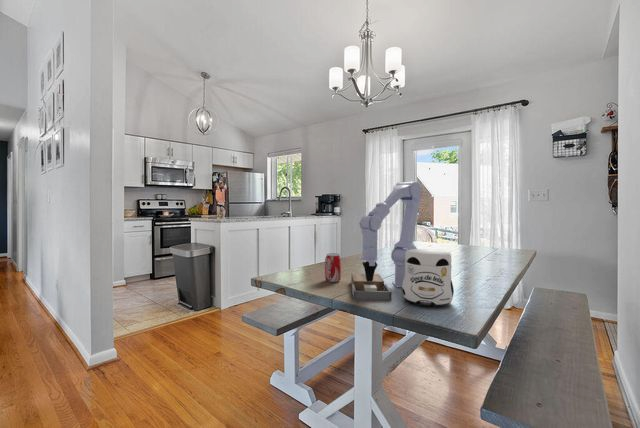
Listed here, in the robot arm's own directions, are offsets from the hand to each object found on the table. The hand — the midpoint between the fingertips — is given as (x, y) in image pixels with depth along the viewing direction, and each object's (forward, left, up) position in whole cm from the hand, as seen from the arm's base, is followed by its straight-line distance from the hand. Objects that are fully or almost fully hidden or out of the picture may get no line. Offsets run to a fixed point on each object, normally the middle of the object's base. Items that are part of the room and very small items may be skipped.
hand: (369, 280), depth 127 cm
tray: (0, +4, -5) cm, 6 cm away
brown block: (0, -8, -5) cm, 9 cm away
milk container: (-19, +11, -5) cm, 23 cm away
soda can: (+14, -17, -5) cm, 23 cm away
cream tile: (0, +3, -1) cm, 3 cm away
